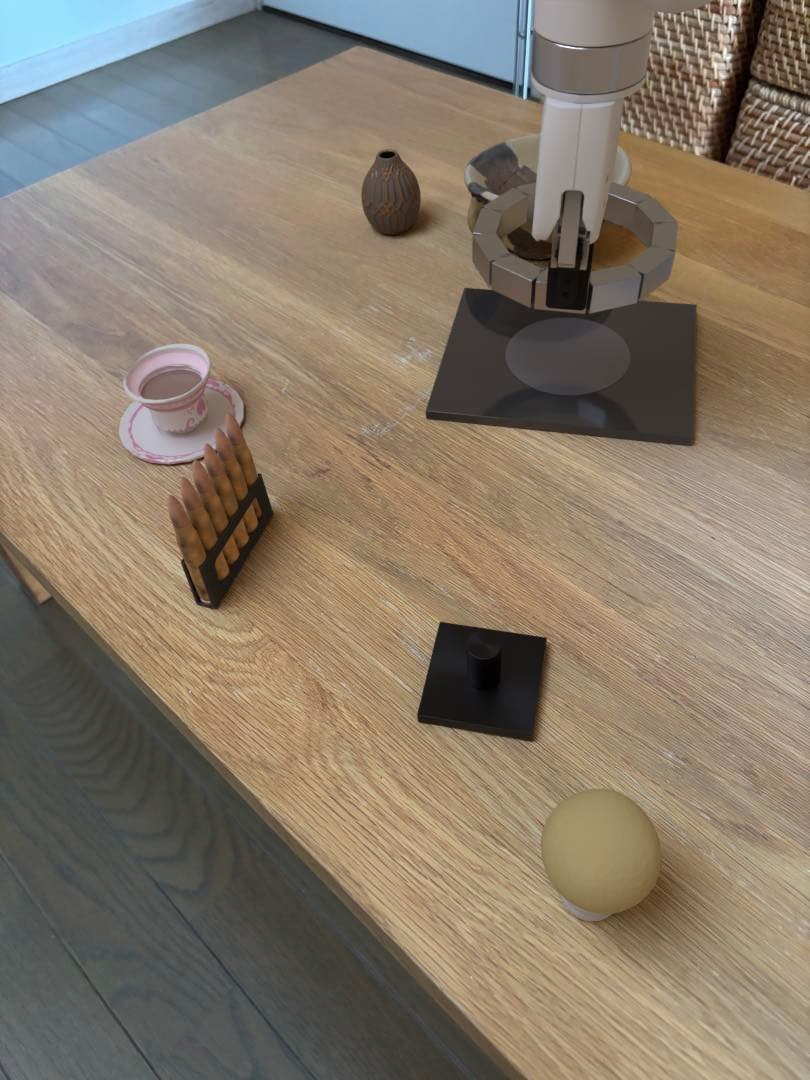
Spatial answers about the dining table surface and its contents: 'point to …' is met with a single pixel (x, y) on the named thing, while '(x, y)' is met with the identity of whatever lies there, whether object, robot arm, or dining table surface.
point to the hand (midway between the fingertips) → (567, 295)
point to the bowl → (516, 168)
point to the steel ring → (604, 285)
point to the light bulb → (600, 853)
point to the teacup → (175, 405)
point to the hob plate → (570, 369)
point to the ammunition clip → (220, 515)
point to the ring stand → (483, 681)
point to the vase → (390, 194)
